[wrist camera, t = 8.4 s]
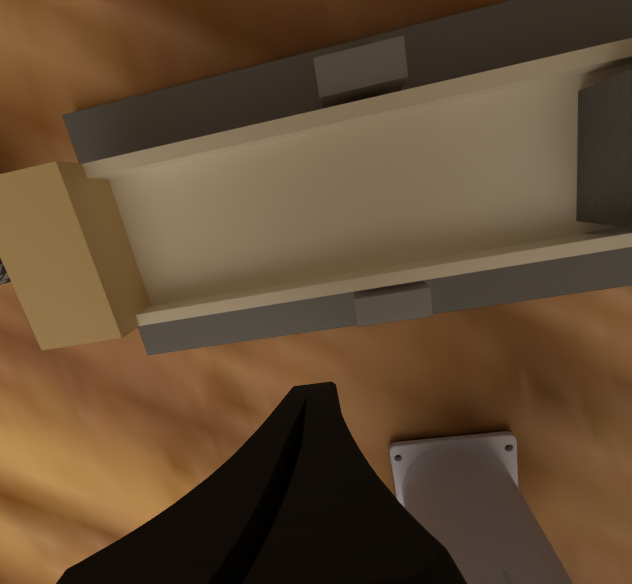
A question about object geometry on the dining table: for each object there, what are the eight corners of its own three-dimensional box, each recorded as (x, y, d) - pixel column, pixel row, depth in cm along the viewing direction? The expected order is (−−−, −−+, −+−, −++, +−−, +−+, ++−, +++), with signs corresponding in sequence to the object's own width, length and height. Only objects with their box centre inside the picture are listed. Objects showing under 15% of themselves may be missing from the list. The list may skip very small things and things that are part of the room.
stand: (661, 273, 19) (817, 315, 12) (156, 348, 22) (85, 407, 16) (688, -36, 15) (931, -196, 9) (76, 118, 19) (-54, 84, 13)
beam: (719, 217, 14) (868, 228, 10) (112, 318, 18) (44, 355, 14) (744, 24, 12) (938, -56, 8) (59, 178, 16) (-37, 174, 12)
